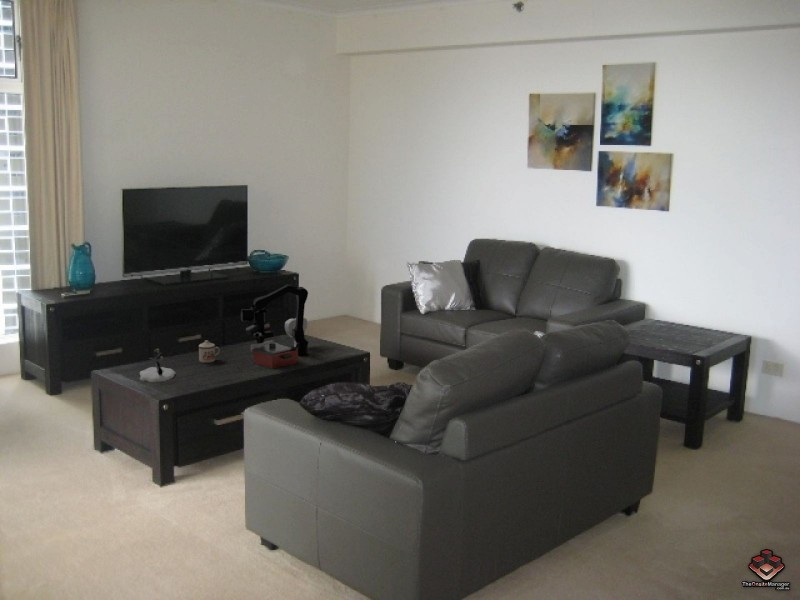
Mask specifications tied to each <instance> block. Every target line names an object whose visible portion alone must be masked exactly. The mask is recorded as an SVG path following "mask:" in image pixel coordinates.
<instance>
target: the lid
mask: <svg viewBox="0 0 800 600" xmlns="http://www.w3.org/2000/svg"><path fill="white" fill-rule="evenodd" d="M274 341H275V340H267V341H263V342H262V343H257V342H256V343H253V344H250V352H251V353H254V348H258V349H261V350H265V351H268V352H272V353H274V354H276V353H280V352H284V351H288V350H293V348H292V347H288V346H285V345H281V344H278V343H279V342H274Z"/></svg>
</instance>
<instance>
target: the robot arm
mask: <svg viewBox="0 0 800 600" xmlns="http://www.w3.org/2000/svg"><path fill="white" fill-rule="evenodd" d="M288 293H290V294H293V295H295V298H296V302H297V304H296V314H295V315H296V316H295V318H296V326H295V328H294V329H292V334H291V336H292V337H291V338H292V339H293V341H294V340H295V341H296V343H297V344H296V347H297V348H298V357H304V356H308V355H310V353H308V345H309V341H308V340H307V339H306V338H305V332H304V330H303V320H304V318H305V317H304V316H305V307H306V306H305V304H306V302H307V299H308V294H309V291H308V289H306V288H305V287H304V286H294V285H291V284H289V283H288V284H285V285H283V286H282V287H279V288H278V289H276V290H274V291H272V292H270V293H268V294H266V295H262V296H259V297H256V298H255V299H253V304H251V306H250V308H249V309H248V308H245V309H244V308H243V309H241V310H240V320H241V322H251V321H253V320H254V321H253V322H252V324H251V325H250V326H248V327H246V328H245V333H246V334H247V335H248V336H252V337H254V339H255V341H256V344H257V343H262V342H265V339H269V338H273V337H275V333H274V331H271V330H267V328H266V326H265V325H266V324H267V321H266V320H265V314H266V313H269V310H267V309H266V307H267V306H268V305H269V304H270V303H272V302H273V301H275V300H277V299H279V298H281V297H283V296H284V295H287V294H288Z"/></svg>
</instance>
